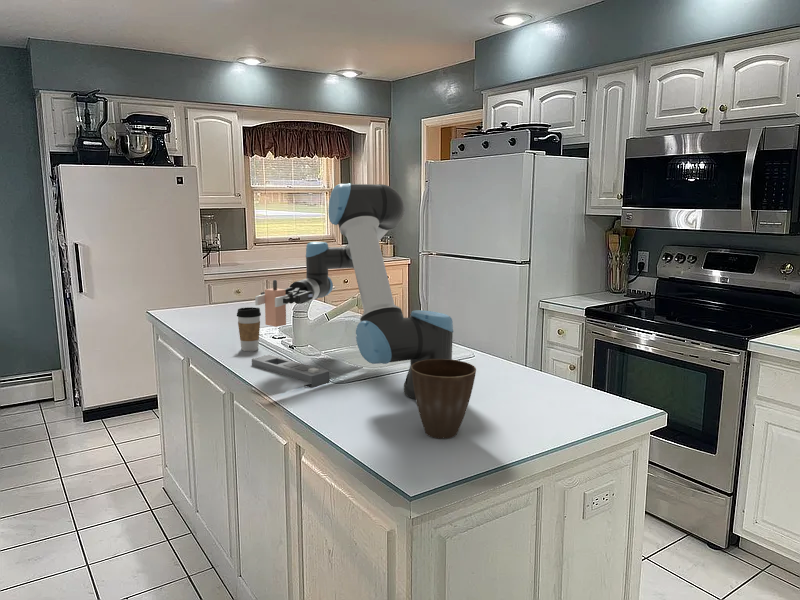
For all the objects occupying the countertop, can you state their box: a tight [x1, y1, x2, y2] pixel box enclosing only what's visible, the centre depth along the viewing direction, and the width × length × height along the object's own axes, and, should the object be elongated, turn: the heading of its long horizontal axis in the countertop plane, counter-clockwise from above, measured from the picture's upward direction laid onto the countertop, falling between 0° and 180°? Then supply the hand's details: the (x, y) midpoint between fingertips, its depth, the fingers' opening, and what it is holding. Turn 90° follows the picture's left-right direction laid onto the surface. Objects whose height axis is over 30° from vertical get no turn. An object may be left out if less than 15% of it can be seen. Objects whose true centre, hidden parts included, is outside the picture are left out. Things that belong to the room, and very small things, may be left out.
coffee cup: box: [236, 306, 262, 352], centre depth 218 cm, size 8×8×15 cm
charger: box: [264, 279, 287, 328], centre depth 187 cm, size 5×4×14 cm
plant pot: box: [411, 359, 477, 440], centre depth 142 cm, size 15×15×16 cm
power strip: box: [251, 354, 330, 389], centre depth 187 cm, size 28×7×4 cm, turn 50°
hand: (266, 301), depth 182 cm, fingers closed on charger, 6 cm apart
